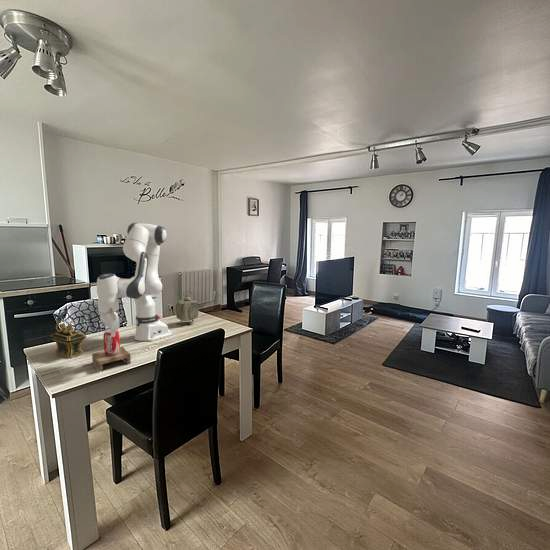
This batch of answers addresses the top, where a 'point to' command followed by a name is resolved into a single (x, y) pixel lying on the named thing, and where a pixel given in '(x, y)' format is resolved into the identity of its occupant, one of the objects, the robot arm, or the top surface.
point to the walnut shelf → (109, 358)
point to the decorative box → (68, 341)
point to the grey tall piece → (187, 309)
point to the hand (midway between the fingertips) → (110, 333)
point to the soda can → (111, 342)
